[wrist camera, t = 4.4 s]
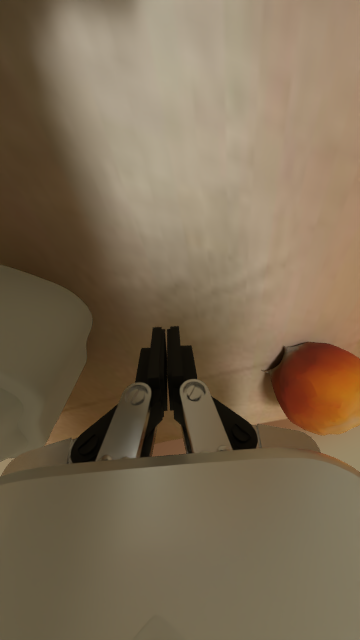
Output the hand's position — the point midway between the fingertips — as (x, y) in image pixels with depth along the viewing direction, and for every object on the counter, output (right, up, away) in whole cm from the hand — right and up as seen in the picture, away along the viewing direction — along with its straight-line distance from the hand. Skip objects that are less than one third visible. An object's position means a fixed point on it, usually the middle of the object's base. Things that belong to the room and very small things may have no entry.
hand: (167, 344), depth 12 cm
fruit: (+14, -3, +8) cm, 16 cm away
